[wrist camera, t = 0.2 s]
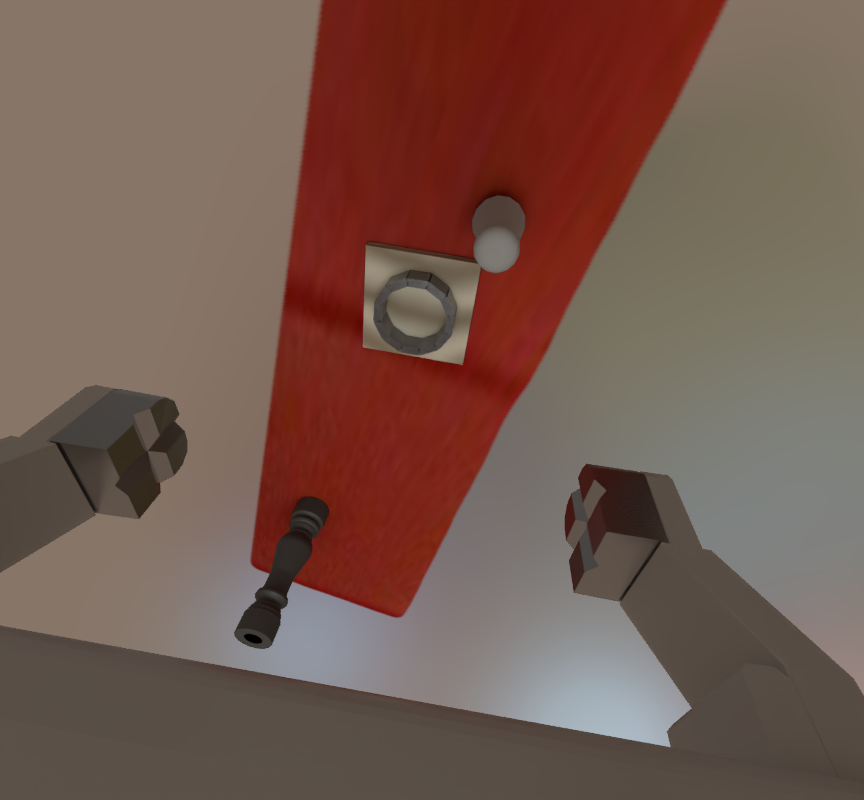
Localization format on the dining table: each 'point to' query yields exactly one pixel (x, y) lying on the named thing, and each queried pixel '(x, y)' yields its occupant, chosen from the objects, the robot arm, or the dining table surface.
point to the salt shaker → (497, 233)
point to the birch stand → (419, 297)
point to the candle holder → (282, 574)
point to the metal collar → (398, 337)
